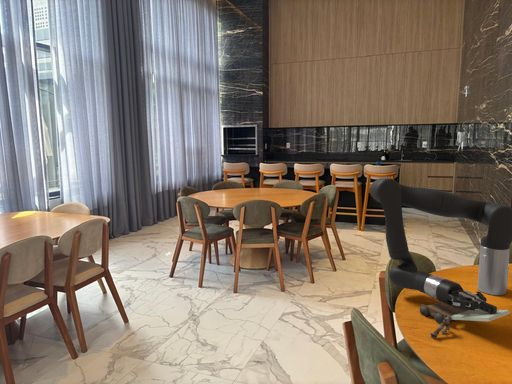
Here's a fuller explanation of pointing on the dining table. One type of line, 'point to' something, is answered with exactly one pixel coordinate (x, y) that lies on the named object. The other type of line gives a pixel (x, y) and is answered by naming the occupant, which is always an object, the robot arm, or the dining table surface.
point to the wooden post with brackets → (441, 326)
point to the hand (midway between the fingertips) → (495, 310)
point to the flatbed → (440, 311)
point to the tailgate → (479, 315)
